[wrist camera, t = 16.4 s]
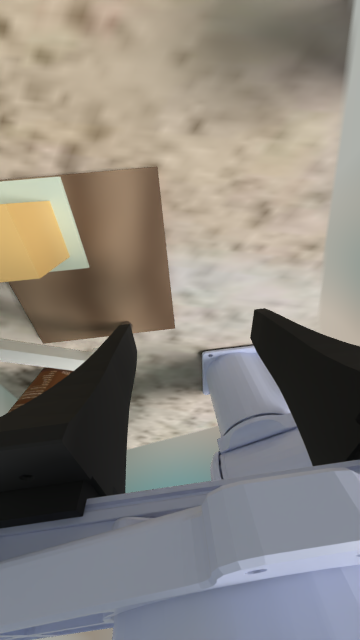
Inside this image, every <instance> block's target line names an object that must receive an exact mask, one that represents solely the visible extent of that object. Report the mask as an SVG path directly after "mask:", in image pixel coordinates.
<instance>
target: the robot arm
mask: <svg viewBox="0 0 360 640" xmlns="http://www.w3.org/2000/svg"><path fill="white" fill-rule="evenodd" d="M250 338H251V340H252V343H253V345H254V346H246V347H237V348H229V349H221V350H213V351H205V352H203V353H202V380H203V394H205V395H208V394H210V395H211V399H212V403H213V407H214V411H215V415H216V418H217V422H218V426H219V430H220V433H221V438H219V439H217V441H218V446H219V450H220V451H218V452H215V453H214V455H213V460H212V462H211V481H208V482H201V483H194V484H187V485H180V486H173V487H166V488H160V489H152V490H145V491H138V492H131V493H125V479H126V451H127V432H128V418H129V406H130V400H131V394H132V389H133V383H134V378H135V372H136V365H137V349H136V345H135V341H134V337H133V333H132V329H131V325H130V324H124V325H119V326H118V327H117V328H116V329H115V330H114V332H113V333H112V334H111V335H110V336H109V337H108V338H107V340H106V341H105V342H104V343H103V344H102V345H101V346H100V347H99V348H98V349H97V350H96V351H95V352H94V353H93V354H92V355H91V356H90V357H89V358H88V359H87V360H86V361H85V362H84V363H83V364H81V365H80V366H79V367H78V368H77V369H75V370H74V371H73V372H72V373H70V374H69V375H68V376H66V377H65V378H64V379H62V380H61V381H60V382H58V383H57V384H55V385H54V386H53V387H51V388H50V389H48V390H46V391H45V392H43V393H42V394H40V395H39V396H37V397H35V398H34V399H32V400H30V401H29V402H27V403H25V404H24V405H22V406H20V407H18V408H16V409H14V410H13V411H11V412H9V413H7V414H5V415H3V416H2V417H0V640H32V639H39V638H46V637H53V636H59V635H66V634H73V633H80V632H86V631H93V630H100V629H107V628H113V627H114V628H113V637H112V640H360V347H359V346H356V345H352V344H349V343H346V342H342V341H339V340H337V339H334V338H331V337H328V336H325V335H323V334H320V333H318V332H315V331H313V330H311V329H308V328H306V327H304V326H301V325H299V324H297V323H295V322H293V321H291V320H289V319H287V318H285V317H283V316H281V315H279V314H276V313H274V312H272V311H270V310H268V309H265V308H264V309H256V310H254V316H253V323H252V330H251V337H250ZM209 354H211V355H209Z"/></svg>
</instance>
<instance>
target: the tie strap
mask: <svg viewBox="0 0 360 640" xmlns="http://www.w3.org/2000/svg"><path fill="white" fill-rule="evenodd" d="M97 349H98V348H94V349H93V351H92V352H86V351H80V350H73V349H66V348H60V347H53V346H47V345H40V344H33V343H27V342H20V341H13V340H7V339H0V361H2V362H9V363H17V364H25V365H33V366H40V367H48V368H56V369H64V370H71V371H74V370H75V369H77V368H78V367H79V366H80V365H81V364H83V363H84V362H85V361H86V360H87V359H88V358H89V357H90V356H91V355H92V354H93V353H94V352H95V351H96V350H97Z"/></svg>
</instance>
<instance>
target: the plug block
mask: <svg viewBox="0 0 360 640" xmlns="http://www.w3.org/2000/svg"><path fill="white" fill-rule="evenodd" d="M69 257H70V255H69V253H68V250H67V247H66V244H65V242H64V239H63V236H62V233H61V231H60V228H59V225H58V222H57V220H56V217H55V214H54V211H53V209H52V206H51V203H50V201H38V202H23V203H9V204H0V282H10V281H20V280H29V279H39V278H41V277H43V276H44V275H46V274H47V273H48V272H50V271H51V270H52V269H54V268H55V267H57V266H58V265H59V264H61V263H62V262H64V261H65V260H66V259H68V258H69Z"/></svg>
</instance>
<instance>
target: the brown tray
mask: <svg viewBox="0 0 360 640" xmlns="http://www.w3.org/2000/svg"><path fill="white" fill-rule="evenodd" d="M48 177H61V180H62V183H63V186H64V190H65V193H66V196H67V199H68V202H69V205H70V208H71V211H72V214H73V217H74V220H75V223H76V227H77V230H78V233H79V236H80V239H81V242H82V245H83V248H84V251H85V254H86V257H87V260H88V264H89V268H83V269H73V270H64V271H54V272H48V273H47V274H46V275H44V276H43V277H41V278H39V279H29V280H20V281H10V282H9V284H10V286H11V288H12V289H13V291H14V293H15V295H16V296H17V298H18V300H19V302H20V303H21V305H22V307H23V309H24V310H25V312H26V314H27V316H28V317H29V319H30V321H31V323H32V324H33V326H34V328H35V330H36V331H37V333H38V335H39V337H40V338H41V340H42V342H43V344H44V343H52V342H61V341H70V340H78V339H87V338H96V337H104V336H110V335H111V334H112V333H113V332H114V330H115V329H116V328H117V327H118V326H119V325H124V324H130V325H131V329H132V333H139V332H148V331H156V330H165V329H174V328H175V324H174V315H173V306H172V296H171V287H170V278H169V269H168V260H167V251H166V242H165V232H164V223H163V214H162V205H161V196H160V187H159V178H158V168H157V167H148V168H137V169H125V170H113V171H102V172H90V173H78V174H67V175H55V176H43V177H32V178H20V179H8V180H0V182H1V181H13V180H24V179H36V178H48Z"/></svg>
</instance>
